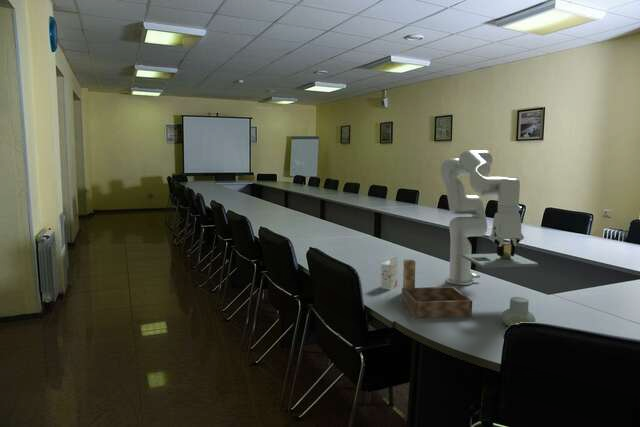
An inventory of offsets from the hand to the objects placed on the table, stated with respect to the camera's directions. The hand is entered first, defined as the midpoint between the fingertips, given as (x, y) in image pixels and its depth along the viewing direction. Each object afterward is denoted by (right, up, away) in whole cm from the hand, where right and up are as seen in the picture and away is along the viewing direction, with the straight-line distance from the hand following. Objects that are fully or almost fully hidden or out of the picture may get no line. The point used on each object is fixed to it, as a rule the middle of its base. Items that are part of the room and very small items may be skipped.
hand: (505, 255), depth 170 cm
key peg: (-35, -19, +19) cm, 44 cm away
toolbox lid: (-3, -2, 0) cm, 4 cm away
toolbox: (-28, -21, 0) cm, 35 cm away
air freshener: (-3, -24, -17) cm, 30 cm away
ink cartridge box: (-42, -18, +29) cm, 54 cm away
